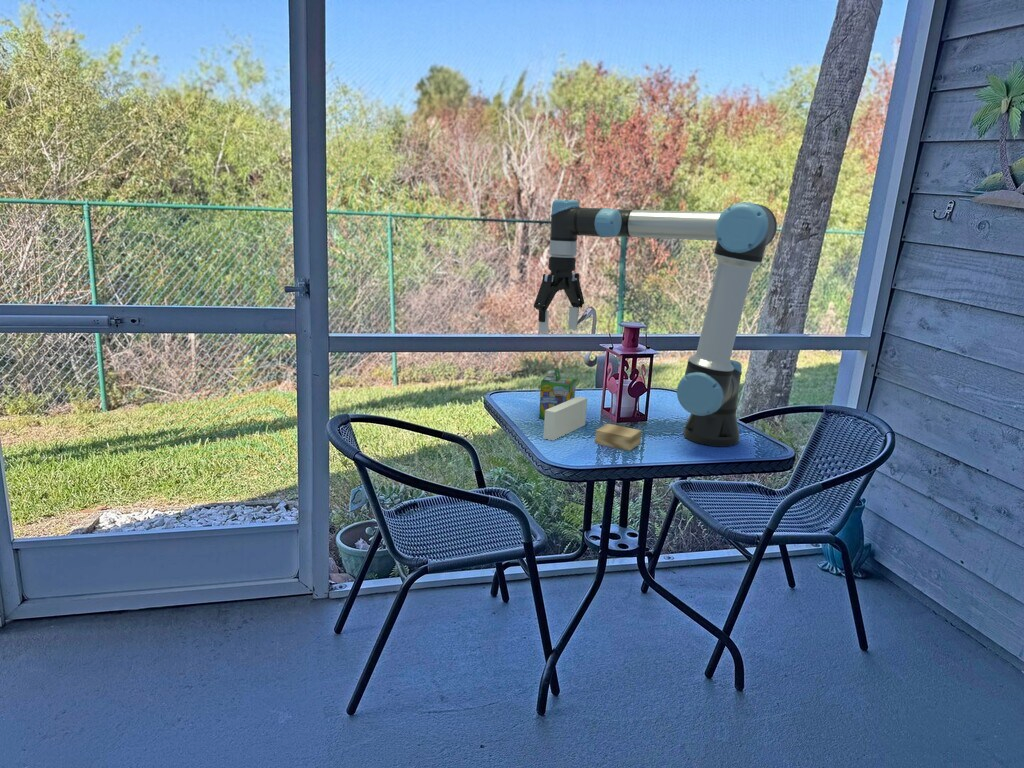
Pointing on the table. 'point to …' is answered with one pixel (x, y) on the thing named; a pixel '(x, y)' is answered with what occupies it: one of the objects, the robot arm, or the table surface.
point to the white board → (565, 418)
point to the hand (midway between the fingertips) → (558, 331)
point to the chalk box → (555, 391)
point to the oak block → (618, 437)
